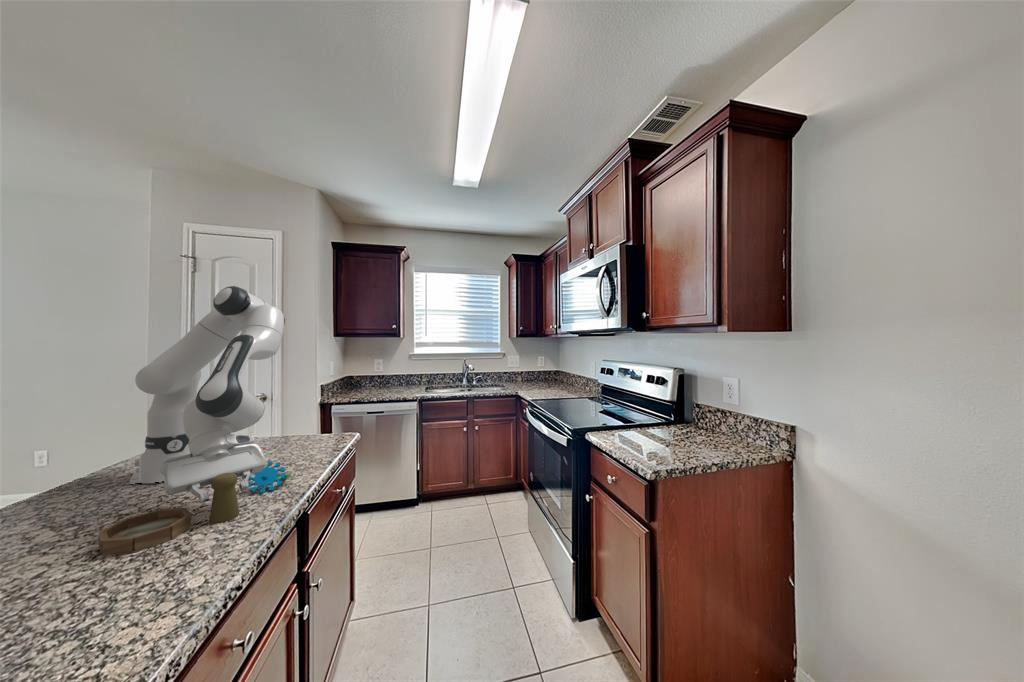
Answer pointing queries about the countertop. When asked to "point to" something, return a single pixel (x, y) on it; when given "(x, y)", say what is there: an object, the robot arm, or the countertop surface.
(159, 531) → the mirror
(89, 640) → the countertop surface
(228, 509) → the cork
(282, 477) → the gear
